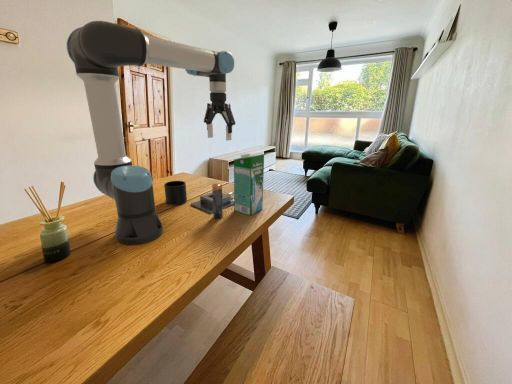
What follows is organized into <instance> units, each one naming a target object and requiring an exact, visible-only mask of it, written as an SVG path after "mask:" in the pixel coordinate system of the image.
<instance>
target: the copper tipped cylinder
mask: <svg viewBox="0 0 512 384" xmlns="http://www.w3.org/2000/svg"><path fill="white" fill-rule="evenodd" d="M211 187H212V192H213V213H212V214H213V215H212V217H213V219H214V220H221V219H223V217H224V214H223V213H224V209H223V205H222V193H223V184H222V183H220V182H219V183H217V182H216V183H213V184H211ZM212 192H211V193H212Z"/></svg>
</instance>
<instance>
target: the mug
mask: <svg viewBox="0 0 512 384" xmlns="http://www.w3.org/2000/svg"><path fill="white" fill-rule="evenodd" d="M164 195H165V203H166V204H167V205H168V206H180V205H183V204H185V203H187V201H188V199H187V198H188V197H187V196H188V195H187V185H186V181H183V180H171V181H167V182H165V183H164Z"/></svg>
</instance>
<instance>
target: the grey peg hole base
mask: <svg viewBox="0 0 512 384" xmlns="http://www.w3.org/2000/svg"><path fill="white" fill-rule="evenodd" d="M232 196H234V191H231V192H229V193H223V192H222V205H223V210H224V209H226V208H227V209H228V207H229V208H230V207H232V206H234V197H232ZM199 198H200V199H199V200H198V201H195V202H191V203H190V206H191V207H194V208H196V209H199V210H200V211H203V212H205V213H208V214H213V192H210V193H206V194H204V195H200V196H199Z"/></svg>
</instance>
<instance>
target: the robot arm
mask: <svg viewBox="0 0 512 384" xmlns="http://www.w3.org/2000/svg"><path fill="white" fill-rule="evenodd" d="M66 52H67V55H68V57H69V58H70V60H71V61H72V62H73V64H74V69H75V73H76V76H77V78H79V79H80V80H82V81H83V84H84V90H85V95H86V100H87V104H88V110H89V115H90V121H91V127H92V132H93V137H94V143H95V147H96V153H97V158H96V159H95V160H94V162H93V165H94V169H95V171H94V172H93V178H92V180H93V183H94V186H95V187H96V189H98V191H99V192H101V193H102V194H104V195H105V196H108V197H109V198H111V199H112V200H114V201H115V206H116V212H117V221H116V225H115V231H114V236H115V240H116V241H117V243H119V244H120V245H124V246H125V245H126V246H136V245H138V246H139V245H142V244H146V243H150V242H152V241H155V240H157V239H158V238H160V237H161V236H162V235H163V233H164V226H163V223H162V221H161V219H160V217H159V215H158V213H157V211H156V203H155V194H154V193H155V192H154V185H153V182H154V181H153V178H152V173H151V171H150V169H148V168H146V167H144V166H140V165H139V166H137V165H133V162H132V161H133V160H132V158H130V157H129V156H127V153H126V148H125V139H124V134H123V127H122V120H121V113H120V108H119V107H120V106H119V100H118V96H117V95H118V94H117V87H116V82H118V80H119V79H120V73H119V67H125V66H126V67H127V66H137V67H143V66H145V64H147V65H152V66H153V65H154V66H160V67H168V68H169V67H170V68H175V69H182V70H185V72H186V73H187V75H190V76H193V77H195V76H196V77H197V76H198V77H205V78H209V79H208V80H209V92H210V93H209V100H210V102H211V103H210V102H209V103H207V104H206V105H207V106H206V110H205V115H204V119H203V123H204V124H206V131H207V138H209V139H210V138H211V139H213V137H214V132H213V131H214V128H213V121H214V119H215V116H216V115H217V114H219V115H220V116H222V119H223V120H224V122H225V124H226V125H225V135H226V136H225V140H226V141H232V134H233V126H235V125H236V121H235V118H234V114H233V111H232V109H231V103H226V102H227V93H226V92H227V74H229V73H232V72H233V71H234V67H235V57H233V54H232V53H231V52H229V51H227V50H226V51H225V50H223V51H215V50H210V49H206V48H201V47H197V46H194V45H193V46H192V45H188V44H185V43H179V42H175V41H172V40H167V39H163V38H158V37H155V36H149V35H147V34H144V32H143V31H142V30H141V29H137V28H133V27H129V26H126V25H122V24H120V23H119V24H118V23H113V22H110V21H104V20H93V21H92V20H91V21H90V22H87V23H85V24H84V25H83V26H81V27H78V28H76V29H73V31H71V33H70V34H69V35H68V37H67V39H66Z"/></svg>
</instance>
